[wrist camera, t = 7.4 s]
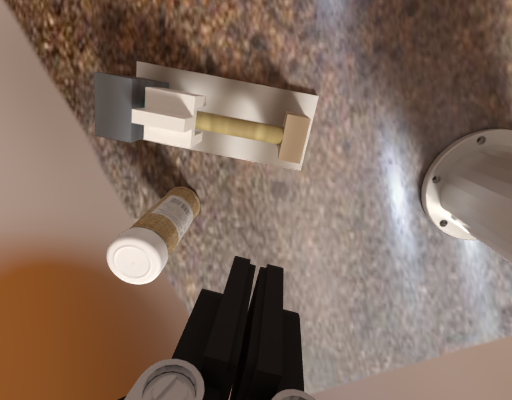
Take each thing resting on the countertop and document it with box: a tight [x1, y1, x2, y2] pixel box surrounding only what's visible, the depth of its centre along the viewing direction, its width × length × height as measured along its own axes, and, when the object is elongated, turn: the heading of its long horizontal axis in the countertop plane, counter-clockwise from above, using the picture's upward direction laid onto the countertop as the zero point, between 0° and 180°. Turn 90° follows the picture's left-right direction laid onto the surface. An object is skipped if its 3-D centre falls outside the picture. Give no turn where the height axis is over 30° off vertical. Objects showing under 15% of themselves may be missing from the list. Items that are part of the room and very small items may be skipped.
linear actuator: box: [94, 61, 319, 171], centre depth 27 cm, size 19×8×9 cm, turn 80°
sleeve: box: [132, 87, 207, 148], centre depth 24 cm, size 4×4×6 cm
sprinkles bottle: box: [107, 187, 200, 284], centre depth 29 cm, size 5×5×14 cm
